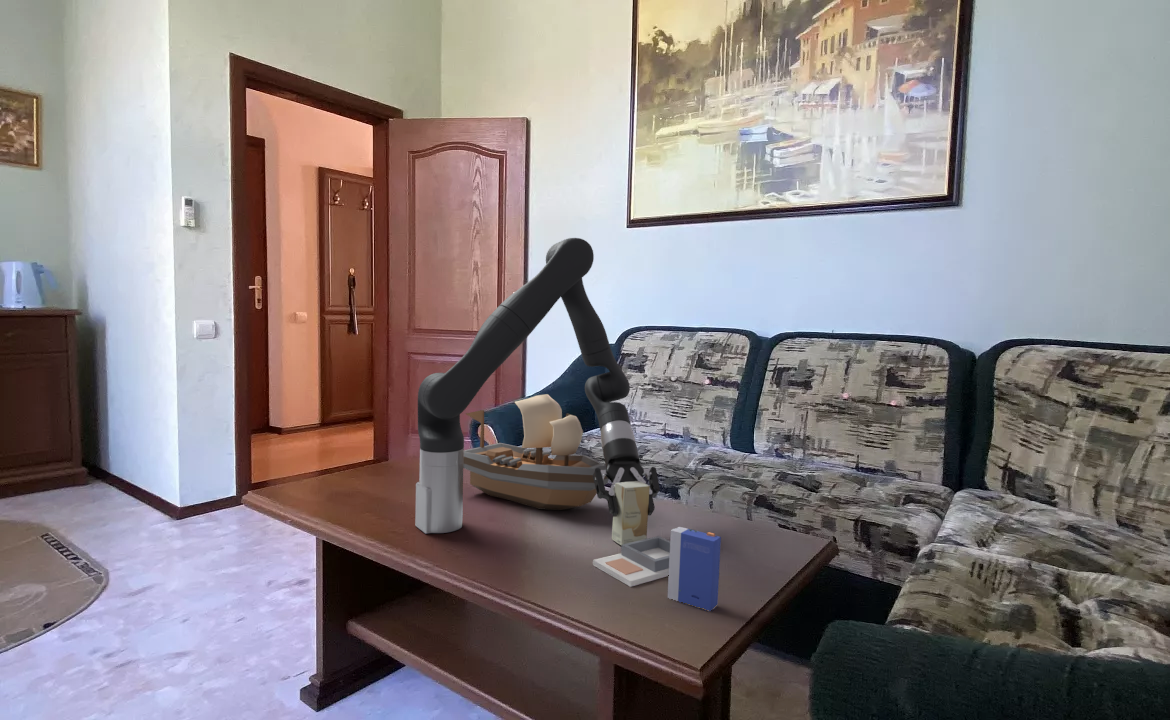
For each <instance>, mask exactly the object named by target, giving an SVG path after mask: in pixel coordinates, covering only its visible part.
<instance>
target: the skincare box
mask: <svg viewBox="0 0 1170 720" xmlns="http://www.w3.org/2000/svg"><path fill="white" fill-rule="evenodd" d="M649 488H650V484H647V483H646V484H645V483H643V482H639V481H633V482H621V483H615V494H614V496H616V501H617V506H618V515H617V517H613V516H612V528H611V529H612V530H611V540H612V541H614V542H615V543H617V544H618V545H620V547H621V546H622V544H626V543H631V542H635V541H639V540H643V539H648V534H647V533H648V521H649V520H648V518H649V515H648V504H649Z"/></svg>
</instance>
